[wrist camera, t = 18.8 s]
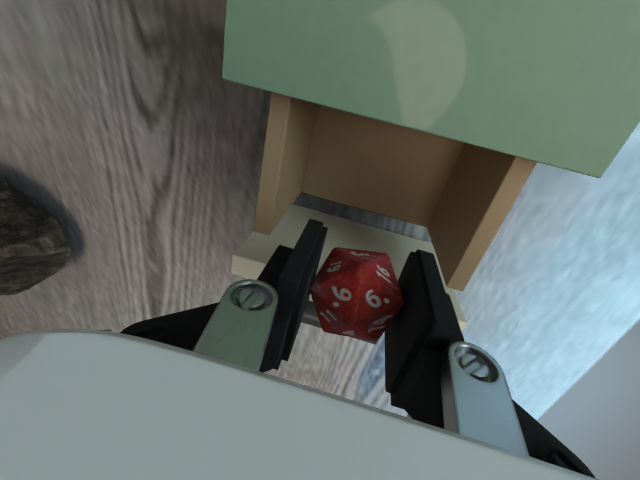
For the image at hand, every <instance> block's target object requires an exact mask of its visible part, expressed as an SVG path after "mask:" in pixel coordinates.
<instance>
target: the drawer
mask: <svg viewBox="0 0 640 480" xmlns="http://www.w3.org/2000/svg"><path fill="white" fill-rule="evenodd" d="M536 163H537V162H536V161H532V160H528V159H524V158H521V157H517V156H513V155H509V154H505V153H502V152H498V151H494V150H490V149H486V148H483V147H479V146H475V145H471V144H467V143H464V142H460V141H456V140H452V139H448V138H445V137H441V136H437V135H433V134H429V133H426V132H422V131H418V130H414V129H410V128H407V127H403V126H399V125H395V124H391V123H388V122H384V121H380V120H376V119H372V118H369V117H365V116H361V115H357V114H353V113H350V112H346V111H342V110H338V109H334V108H331V107H327V106H323V105H319V104H315V103H312V102H308V101H304V100H300V99H296V98H293V97H289V96H285V95H281V94H278V93H274V92H271V100H270V107H269V115H268V123H267V130H266V138H265V145H264V153H263V160H262V168H261V176H260V183H259V191H258V198H257V206H256V213H255V221H254V229H253V232H252V233H251V234H250V235H249V236H248V237H247V238H246V240H245V241H244V242H243V243H242V244H241V245H240V246H239V248H238V249H237V250H236V251H235V252H234V253H233V255H232V265H231V273H232V274H235V275H238V276H241V277H245V278H248V279H253V280H257V278H258V277H259V275H260V274H261V272H262V271H263V269H264V267H265V266H266V264H267V263H268V261H269V260H270V258H271V256H272V255H273V253H274V252H275V250H276V249H277V247H278V246H279V245H283V246H286V247H290V248H293V249H294V247H295V245H296V243H297V241H298V239H299V238H300V236H301V234H302V232H303V230H304V228H305V226H306V224H307V223H308V221H309V219H314V220H317V221H321V222H324V225H323V226H324V227H328V231H327V235H326V239H325V242H324V246H323V250H322V254H321V257H320V261H319V265H318V269H317V272H316V275H317V273H318V272H319V270H320V268H321V267H322V265H323V263H324V262H325V260H326V259H327V257H328V256H329V254H330V252H331V251H332V249H333V248H335V247H340V248H349V249H358V250H366V251H374V252H382V253H387V254H388V255H389V257H390V260H391V263H392V266H393V269H394V272H395V275H396V278H397V281H398V279H399V276H400V274H401V272H402V269H403V267H404V265H405V263H406V260H407V258H408V256H409V254H410V252H411V251H412V252H416V250H418V249H419V250H423V251H427V252H430V253H433V254H434V256H435V259H436V263H437V266H438V269H439V272H440V276H441V279H442V282H443V285H444V289H445V292H446V293H448V294H449V295H450V298H451V301H452V304H453V307H454V310H455V313H456V316H457V319H458V322H459V325H460V329H461V332H462V331H463V329H464V328H465V326H466V325H467V322H466V319H465V316H464V313H463V310H462V308H461V305H460V302H459V299H458V297H457V294H456V291H455V289H456V290H459V291H463V290H464V289H465V287H466V285H467V283H468V282H469V280H470V278H471V276H472V275H473V273H474V271H475V269H476V268H477V266H478V264H479V262H480V261H481V259H482V257H483V256H484V254H485V252H486V250H487V249H488V247H489V245H490V243H491V242H492V240H493V238H494V236H495V235H496V233H497V231H498V229H499V228H500V226H501V224H502V222H503V221H504V219H505V217H506V215H507V214H508V212H509V210H510V208H511V207H512V205H513V203H514V201H515V200H516V198H517V196H518V194H519V193H520V191H521V189H522V188H523V186H524V184H525V182H526V181H527V179H528V177H529V175H530V174H531V172H532V170H533V168H534V167H535V165H536ZM301 192H302V193H306V194H309V195H313V196H316V197H320V198H324V199H327V200H331V201H334V202H338V203H341V204H345V205H349V206H352V207H356V208H359V209H363V210H366V211H370V212H374V213H377V214H381V215H384V216H388V217H391V218H395V219H399V220H402V221H406V222H409V223H413V224H416V225H420V226H424V227H427V228H428V231H429V234H430V237H431V241H432V243H429V242H425V241H422V240H418V239H415V238H411V237H408V236H404V235H400V234H397V233H393V232H390V231H386V230H383V229H379V228H376V227H372V226H369V225H365V224H362V223H358V222H354V221H351V220H347V219H344V218H340V217H337V216H333V215H330V214H326V213H323V212H319V211H315V210H312V209H308V208H305V207H301V206H298V205H294V204H293V202H294V201H295V200H296V198H297V197H298V196H299V194H300V193H301ZM310 297H312V296H311V294H310ZM301 322H303V323H306V324H310V325H313V326H316V327H319V328H322V327H321V324H320V321H319V318H318V315H317V312H316V309H315V306H314V303H313V302H312V301H308V303H307V306H306V309H305V312H304V315H303V317H302V320H301ZM352 338H355V337H352ZM356 339H359V340H362V341H366V342H369V343H372V344H376V343H377V342H378V340H376V341H373V340H367V339H361V338H356Z"/></svg>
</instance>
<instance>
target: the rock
mask: <svg viewBox="0 0 640 480" xmlns="http://www.w3.org/2000/svg"><path fill="white" fill-rule="evenodd" d="M70 252H71V248H70V245H69V243H68V241H67V236H66V231H65V229H64V226H63V225H62V223H60V222H59V221H57V220H55V218H54V217H53V216H52V215H51V214H50V213H48V212H46V211H44V210H43V209H41V208H40V206H39V205H38V204H37V203H36V201H35V200H34V199H33V198H31V197H28V196H26V195H23V194H21V193H19V192H18V191H17V190H16V189H14V188H13V187H11V186H9V185H8V184H7V183H6V181H5V180H3V179H2V177H1V176H0V295H13V294H18V293H20V292H22V291H25V290H27V289H30V288H31V287H32V286H34V285H36V284H38V283H39V282H41V281H43V280H45V279H46V278H48V277H50V276H52V275H53V274H55V273H56V272H58V271H59V270H61V269H62V268H64V267H65V263H66V262H67V260H68V259H69V258H70Z"/></svg>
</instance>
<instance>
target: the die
mask: <svg viewBox="0 0 640 480" xmlns="http://www.w3.org/2000/svg"><path fill="white" fill-rule="evenodd" d="M309 289H310V293H311V296H312V299H313V303H314V306H315V309H316V312H317V315H318V318H319V321H320V324H321V327H322V330H323V331H324V332H327V333H332V334H338V335H343V336H349V337H355V338H361V339H367V340H373V341H376V340H378V339H379V338H380V337H381V335H382V334H383V332H384V331H385V330H386V328H387V327H388V325H389V324H390V322H391V321H392V320H393V318H394V317H395V315H396V314H397V312H398V311H399V310H400V308H401V307H402V305H403V303H404V300H403V296H402V293H401V290H400V287H399V284H398V281H397V278H396V275H395V272H394V269H393V266H392V263H391V260H390V257H389V255H388V254H387V253H382V252H374V251H366V250H358V249H349V248H340V247H335V248H333V249H332V251H331V252H330V254H329V256H328V257H327V259H326V260H325V262H324V263H323V265H322V267H321V268H320V270H319V272H318V273H317V275H316V276H315V278H314V280H313V281H312V283H311V285H310V288H309Z"/></svg>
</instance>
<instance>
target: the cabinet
mask: <svg viewBox="0 0 640 480" xmlns="http://www.w3.org/2000/svg"><path fill="white" fill-rule="evenodd" d="M222 79H224V80H228V81H232V82H236V83H240V84H243V85H247V86H251V87H255V88H259V89H262V90H266V91H270V92H274V93H278V94H281V95H285V96H289V97H293V98H296V99H300V100H304V101H308V102H312V103H315V104H319V105H323V106H327V107H331V108H334V109H338V110H342V111H346V112H350V113H353V114H357V115H361V116H365V117H369V118H372V119H376V120H380V121H384V122H388V123H391V124H395V125H399V126H403V127H407V128H410V129H414V130H418V131H422V132H426V133H429V134H433V135H437V136H441V137H445V138H448V139H452V140H456V141H460V142H464V143H467V144H471V145H475V146H479V147H483V148H486V149H490V150H494V151H498V152H502V153H505V154H509V155H513V156H517V157H521V158H524V159H528V160H532V161H536V162H540V163H543V164H547V165H551V166H555V167H559V168H562V169H566V170H570V171H574V172H577V173H581V174H585V175H589V176H593V177H596V178H601V177H602V175H603V174H604V172H605V171H606V169H607V168H608V166H609V165H610V164H611V162H612V161H613V159H614V158H615V156H616V155H617V153H618V152H619V151H620V149H621V148H622V146H623V145H624V143H625V142H626V140H627V139H628V138H629V136H630V135H631V133H632V132H633V130H634V129H635V127H636V126H637V125H638V123H639V122H640V0H226V16H225V33H224V50H223V67H222Z"/></svg>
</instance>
